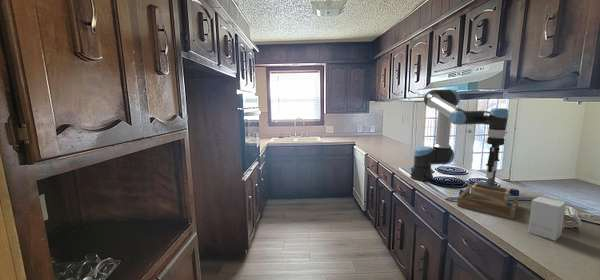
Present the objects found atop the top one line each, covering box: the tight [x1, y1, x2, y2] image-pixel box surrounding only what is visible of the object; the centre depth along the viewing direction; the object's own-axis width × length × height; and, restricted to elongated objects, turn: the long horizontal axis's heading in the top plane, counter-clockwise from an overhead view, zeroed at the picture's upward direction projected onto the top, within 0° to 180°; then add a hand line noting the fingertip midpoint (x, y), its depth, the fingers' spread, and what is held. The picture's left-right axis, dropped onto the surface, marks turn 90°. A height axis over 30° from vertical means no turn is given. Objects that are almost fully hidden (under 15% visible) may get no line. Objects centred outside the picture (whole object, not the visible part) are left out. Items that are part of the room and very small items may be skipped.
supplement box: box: [527, 196, 567, 242], centre depth 110 cm, size 9×9×15 cm
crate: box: [470, 170, 511, 206], centre depth 142 cm, size 10×16×17 cm, turn 46°
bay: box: [456, 187, 519, 220], centre depth 140 cm, size 22×24×6 cm
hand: (491, 174), depth 142 cm, fingers open, 13 cm apart
